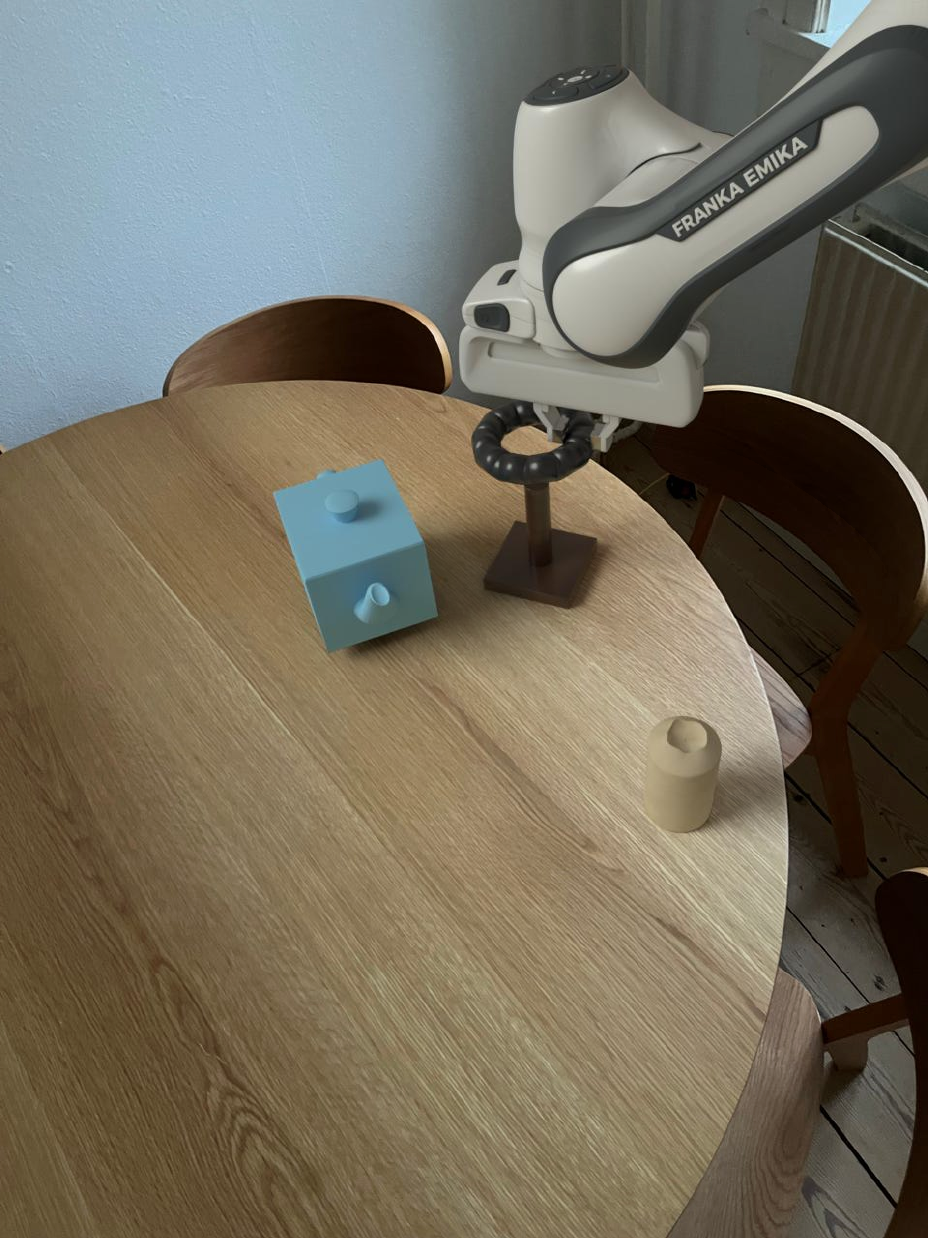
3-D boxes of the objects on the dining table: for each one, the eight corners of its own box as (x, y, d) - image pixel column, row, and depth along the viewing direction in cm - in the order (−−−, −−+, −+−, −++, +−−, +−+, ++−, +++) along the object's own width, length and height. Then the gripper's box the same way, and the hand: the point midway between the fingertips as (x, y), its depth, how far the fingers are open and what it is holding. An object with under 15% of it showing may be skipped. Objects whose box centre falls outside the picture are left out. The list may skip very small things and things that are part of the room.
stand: (597, 548, 100) (597, 461, 91) (568, 609, 95) (566, 523, 86) (516, 530, 103) (509, 444, 94) (484, 589, 98) (473, 503, 89)
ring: (614, 422, 88) (613, 399, 87) (573, 500, 82) (571, 476, 80) (501, 406, 93) (498, 383, 91) (454, 479, 86) (450, 456, 84)
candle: (659, 842, 77) (667, 775, 70) (632, 786, 81) (636, 716, 73) (723, 821, 78) (737, 752, 70) (693, 767, 81) (703, 696, 74)
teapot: (294, 559, 103) (261, 458, 93) (392, 528, 105) (371, 425, 95) (348, 712, 89) (316, 613, 79) (461, 672, 91) (444, 570, 80)
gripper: (722, 295, 73) (706, 441, 83) (473, 264, 79) (487, 403, 90) (701, 341, 69) (687, 488, 79) (442, 304, 76) (460, 444, 86)
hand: (579, 442), depth 85 cm, fingers closed on ring, 2 cm apart
